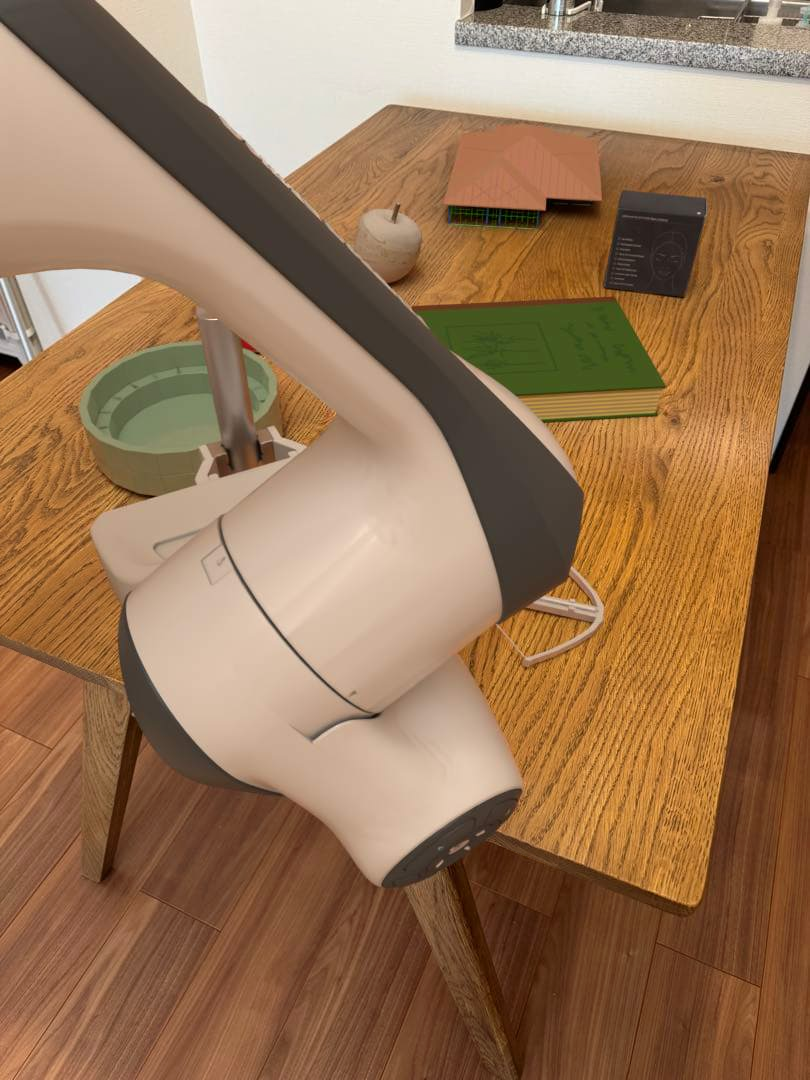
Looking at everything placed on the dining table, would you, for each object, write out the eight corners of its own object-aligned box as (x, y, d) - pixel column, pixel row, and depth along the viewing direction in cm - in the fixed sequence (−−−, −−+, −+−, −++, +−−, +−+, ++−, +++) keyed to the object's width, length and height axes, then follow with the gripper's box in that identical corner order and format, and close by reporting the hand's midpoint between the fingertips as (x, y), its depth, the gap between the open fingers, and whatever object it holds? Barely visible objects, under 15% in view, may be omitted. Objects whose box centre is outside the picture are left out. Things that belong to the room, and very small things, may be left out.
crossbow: (603, 569, 68) (609, 553, 66) (593, 689, 59) (600, 673, 58) (424, 531, 70) (426, 514, 68) (389, 641, 61) (390, 625, 60)
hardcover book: (608, 324, 95) (614, 296, 93) (657, 416, 82) (666, 386, 80) (405, 335, 94) (405, 306, 91) (422, 429, 81) (422, 399, 78)
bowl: (159, 532, 70) (143, 481, 66) (64, 439, 80) (44, 389, 75) (320, 443, 79) (315, 393, 75) (217, 369, 89) (208, 322, 84)
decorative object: (341, 277, 104) (337, 202, 97) (391, 258, 108) (390, 184, 101) (384, 302, 99) (382, 224, 92) (434, 280, 103) (437, 204, 96)
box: (686, 276, 104) (708, 196, 97) (685, 299, 100) (707, 218, 92) (606, 266, 106) (621, 187, 99) (601, 288, 102) (616, 208, 94)
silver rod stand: (253, 629, 55) (195, 357, 40) (199, 575, 59) (126, 307, 43) (330, 579, 59) (304, 311, 43) (274, 531, 62) (232, 268, 47)
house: (593, 154, 136) (602, 102, 130) (599, 235, 113) (609, 177, 107) (462, 147, 138) (465, 97, 133) (442, 226, 115) (443, 168, 110)
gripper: (487, 487, 43) (380, 363, 52) (110, 613, 37) (61, 448, 45) (479, 565, 47) (382, 439, 56) (142, 690, 41) (92, 526, 50)
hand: (236, 444), depth 51 cm, fingers closed on silver rod stand, 2 cm apart
